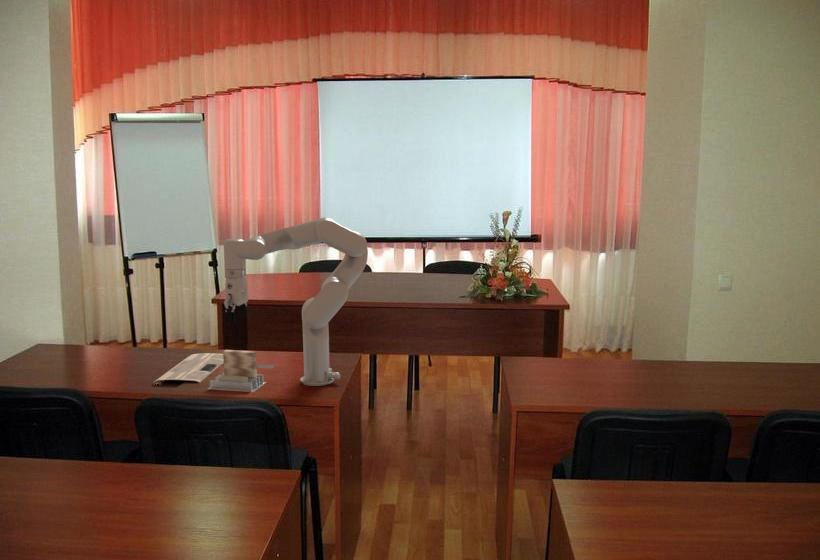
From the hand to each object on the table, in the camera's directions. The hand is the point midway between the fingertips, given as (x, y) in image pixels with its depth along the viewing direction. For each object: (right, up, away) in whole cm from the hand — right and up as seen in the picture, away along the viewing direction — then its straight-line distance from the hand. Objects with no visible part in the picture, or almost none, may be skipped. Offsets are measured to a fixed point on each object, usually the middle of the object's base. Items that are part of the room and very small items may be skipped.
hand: (237, 319), depth 273 cm
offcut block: (-1, -25, -2) cm, 25 cm away
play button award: (0, -23, +19) cm, 29 cm away
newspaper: (-23, -22, +24) cm, 40 cm away
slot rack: (0, -25, +1) cm, 25 cm away
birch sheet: (+1, -24, +4) cm, 24 cm away
